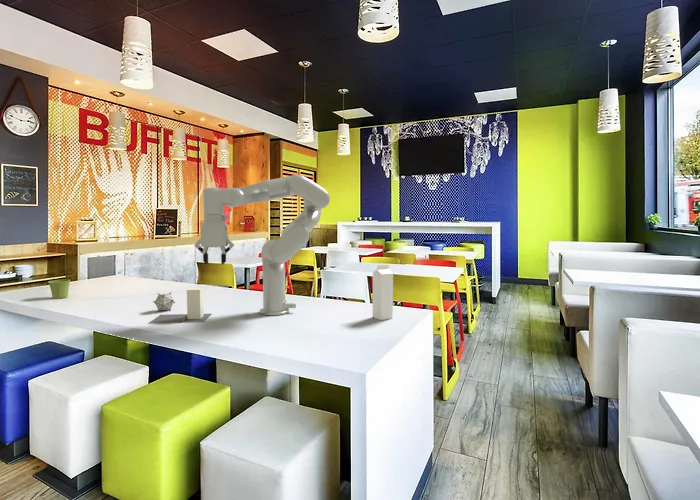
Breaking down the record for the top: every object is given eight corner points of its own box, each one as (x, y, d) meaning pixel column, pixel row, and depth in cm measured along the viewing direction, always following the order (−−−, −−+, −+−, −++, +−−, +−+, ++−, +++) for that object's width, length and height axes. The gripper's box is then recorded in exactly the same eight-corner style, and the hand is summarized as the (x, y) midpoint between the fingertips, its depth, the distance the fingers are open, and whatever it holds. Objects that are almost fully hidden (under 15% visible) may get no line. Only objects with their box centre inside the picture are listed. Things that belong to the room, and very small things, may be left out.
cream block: (203, 316, 164) (202, 287, 163) (200, 319, 159) (199, 289, 158) (191, 316, 163) (190, 287, 162) (187, 319, 158) (186, 289, 157)
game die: (166, 320, 173) (164, 305, 166) (150, 312, 174) (147, 297, 168) (180, 306, 180) (178, 291, 173) (164, 299, 181) (162, 284, 175)
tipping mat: (212, 314, 169) (212, 311, 169) (204, 322, 155) (204, 320, 155) (160, 315, 166) (160, 312, 166) (147, 324, 152) (147, 321, 152)
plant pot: (44, 299, 196) (43, 282, 195) (56, 296, 206) (55, 279, 205) (64, 299, 197) (63, 282, 196) (75, 295, 206) (74, 279, 206)
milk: (392, 318, 163) (393, 265, 162) (380, 320, 160) (381, 266, 158) (383, 315, 169) (384, 263, 167) (371, 317, 165) (372, 264, 163)
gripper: (237, 219, 164) (238, 262, 165) (194, 218, 162) (195, 262, 163) (234, 219, 156) (235, 264, 158) (188, 219, 154) (190, 265, 156)
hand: (214, 263), depth 160 cm, fingers open, 5 cm apart
